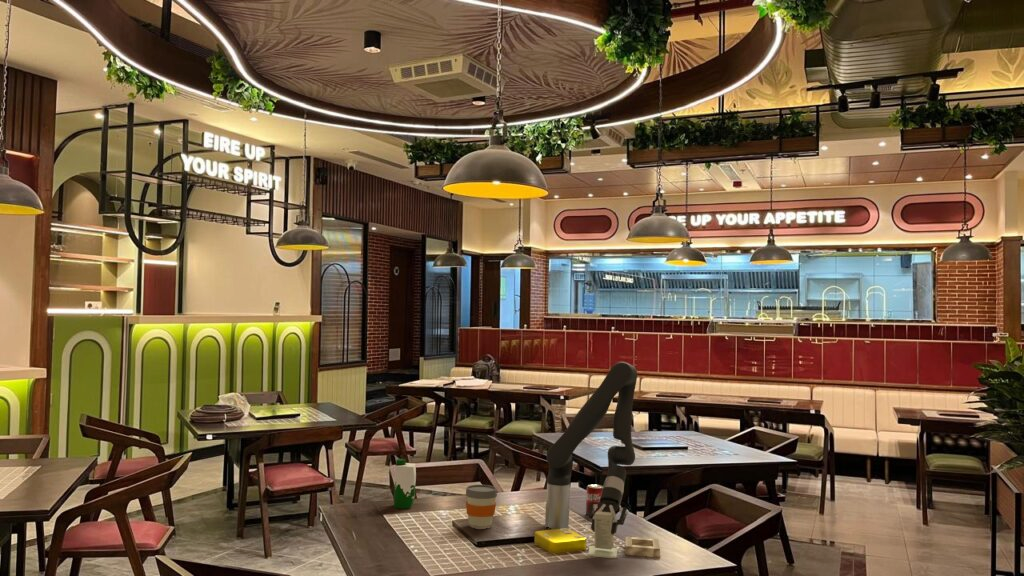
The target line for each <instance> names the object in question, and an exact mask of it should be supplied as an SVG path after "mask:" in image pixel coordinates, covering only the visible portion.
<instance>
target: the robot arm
mask: <svg viewBox="0 0 1024 576" xmlns="http://www.w3.org/2000/svg"><path fill="white" fill-rule="evenodd" d="M637 380H638V371H637V368H636V367H635V366H634V365H633V364H631V363H628V362H626V361H619V362H616V363H615V364H613V365H612V366H611V368H610V369H609V371H608V373H606V376H605V377H604V379H603V381H602V382H601V383H600V385H599V386H598V387H597V389H596V390H595V391H594V392H593V393H592V394H591V396H590V397H589V398H588V399H587V400H586V402H585V403H584V404H583V405H582V407H581V408H580V409H579V410H578V412H577V413H576V414H575V416H574V417H573V419H572V420H571V421H570V423H569V425H568V426H567V428H566V430H565V431H564V432H563V434H562V435H561V436H560V437H558V439H557V440H556V441H555V442H554V443H553V444H552V445H550V447H549V448H548V449H547V452H546V455H545V457H546V462H547V463H548V465H549V466H548V467H549V469H548V473H547V474H548V475H547V477H546V481H547V482H546V503H545V517H544V522H545V523H544V528H546V527H549V528H548V529H550V528H551V529H550V530H553V529H563V528H568V529H569V527H570V497H571V496H570V495H571V494H570V493H571V490H570V489H571V477H572V471H573V470H572V469H573V468H572V467H573V453H574V452H575V450H576V449H577V447H578V446H579V444H581V443H582V442H583V440H585V439H586V438H587V437H588V436H589V435H590V434H591V433H592V432H593V431H594V430H595V429H596V428H597V427H598V426H599V424H600V423H601V421H603V419H604V418H605V416H606V415H607V412H608V411H609V409H610V406H611V403H612V401H613V400H614V398H615V396H616V395H617V394H618V397H617V403H616V407H615V411H614V417H613V426H612V427H613V428H612V430H613V431H612V437H613V438H614V439H615V440H617V441H621V442H623V445H624V446H622V445H621V446H620V445H612V446H610V447H609V448H608V450H607V463H608V464H607V465H608V466H607V472H606V477H605V480H604V483H603V485H602V486H603V490H602V494H601V498H600V502H599V503H598V504H593V503H590V508H589V515H587V516H588V519H589V521H591V525H590V530H592V532H593V533H595V518H594V516H593V515H594V511H595V510H596V508H598V509H599V510H598V511H600V512H613V524H612V529H611V534H612V535H613V536H615V534H616V533H617V529H618V527H619V526H624V523H625V520H626V518H627V514H628V509H627V507H626V506H624V507H621V502H622V498H623V495H624V488H625V481H626V478H627V470H626V468H625V467H623V466H631V465H633V464H634V463H635V461H636V453H635V448H634V445H633V439H632V438H633V437H632V422H633V421H632V417H633V405H634V395H635V390H636V385H637ZM618 513H620V517H619V519H618V518H617V516H616V515H618Z"/></svg>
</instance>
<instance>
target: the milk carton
mask: <svg viewBox="0 0 1024 576" xmlns="http://www.w3.org/2000/svg"><path fill="white" fill-rule="evenodd" d="M416 465H417V464H416V463H412V462H411V463H410V462H406V458H397V459H396V463H395V466H394V478H393V479H394V481H393V482H394V483H393V508H394V509H407V510H408V509H411V508H412V507H413V505H414V501H415V496H416V479H417V472H416V471H417V469H416V468H417V466H416Z"/></svg>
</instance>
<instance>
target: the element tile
mask: <svg viewBox="0 0 1024 576" xmlns="http://www.w3.org/2000/svg"><path fill="white" fill-rule="evenodd" d="M534 545H536V546H538V547H540V548H541V549H543V550H545V551H547V552H548V553H551V554H562V553H563V554H564V552H565V553H573V552H580V551H585V550H587V537H585V536H583V535H581V534H579V533H578V532H576V531H574V530H572V529H571V528H569V527H568V528H563V529H543V530H536V531H535V532H534Z"/></svg>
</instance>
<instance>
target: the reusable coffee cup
mask: <svg viewBox="0 0 1024 576" xmlns="http://www.w3.org/2000/svg"><path fill="white" fill-rule="evenodd" d="M465 488H466V489H465V496H466V501H465V509H466V514H467V519H468V520H467V521H468V525H469V524H471V525H477V526H487V525H491V524H493V519H494V518H493V517H494V516H495V512H496V505H497V501H496V500H497V497H498V491H497V487H496V486H493V485H489V484H471V485H468V486H466V487H465Z"/></svg>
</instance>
